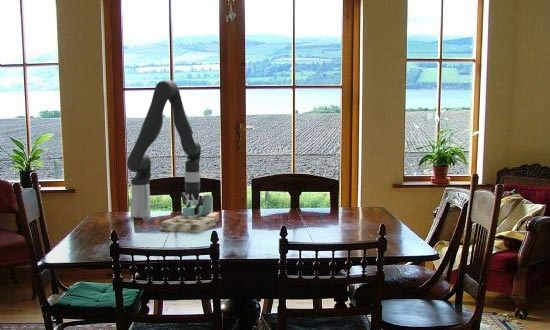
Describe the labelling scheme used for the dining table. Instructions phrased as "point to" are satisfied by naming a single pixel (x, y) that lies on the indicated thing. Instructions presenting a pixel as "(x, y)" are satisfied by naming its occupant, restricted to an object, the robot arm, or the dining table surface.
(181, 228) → the slot rack
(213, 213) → the block
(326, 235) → the dining table surface
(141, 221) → the dining table surface
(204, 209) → the cup
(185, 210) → the batten teal
